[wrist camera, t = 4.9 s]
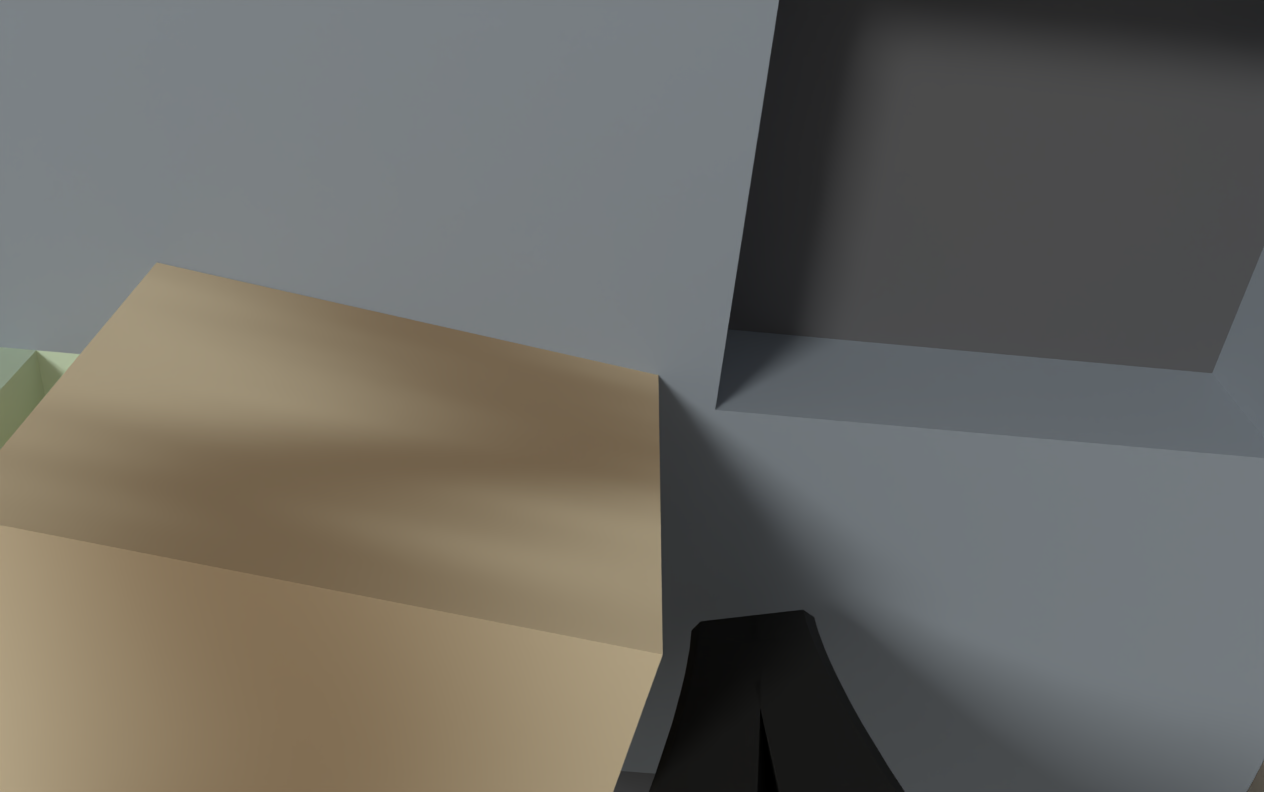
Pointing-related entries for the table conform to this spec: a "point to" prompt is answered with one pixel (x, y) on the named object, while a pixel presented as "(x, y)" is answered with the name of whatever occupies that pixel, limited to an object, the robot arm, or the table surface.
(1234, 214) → the deck
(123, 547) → the beech block
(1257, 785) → the table surface
